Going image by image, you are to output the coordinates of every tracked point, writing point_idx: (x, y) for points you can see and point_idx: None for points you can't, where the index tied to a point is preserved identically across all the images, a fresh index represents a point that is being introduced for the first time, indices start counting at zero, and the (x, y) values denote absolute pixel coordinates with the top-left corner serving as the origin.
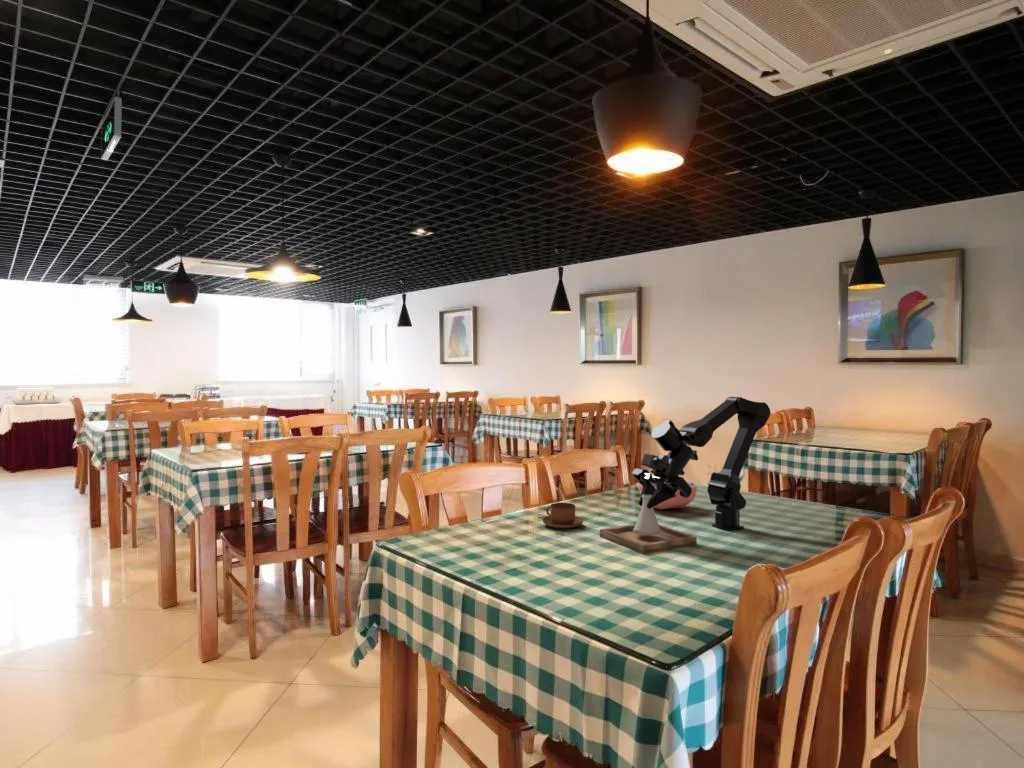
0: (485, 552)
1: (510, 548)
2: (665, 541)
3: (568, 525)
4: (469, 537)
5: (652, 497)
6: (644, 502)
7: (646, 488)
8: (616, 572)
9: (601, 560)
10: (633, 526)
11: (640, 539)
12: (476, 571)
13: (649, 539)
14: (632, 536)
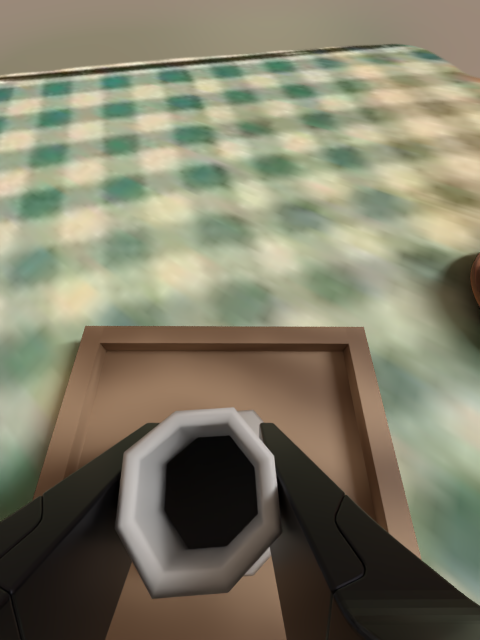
0: (311, 106)
1: (321, 135)
2: (53, 459)
3: (472, 279)
4: (427, 114)
5: (92, 476)
6: (204, 434)
7: (325, 583)
8: (48, 205)
9: (137, 222)
10: (385, 525)
11: None
12: (219, 78)
13: None
14: None
